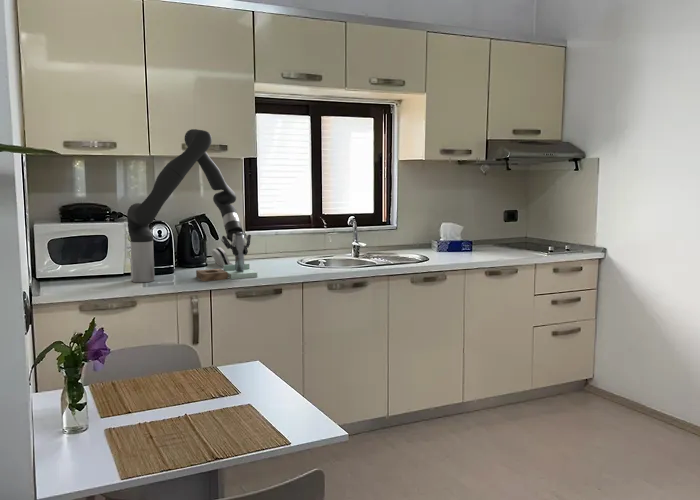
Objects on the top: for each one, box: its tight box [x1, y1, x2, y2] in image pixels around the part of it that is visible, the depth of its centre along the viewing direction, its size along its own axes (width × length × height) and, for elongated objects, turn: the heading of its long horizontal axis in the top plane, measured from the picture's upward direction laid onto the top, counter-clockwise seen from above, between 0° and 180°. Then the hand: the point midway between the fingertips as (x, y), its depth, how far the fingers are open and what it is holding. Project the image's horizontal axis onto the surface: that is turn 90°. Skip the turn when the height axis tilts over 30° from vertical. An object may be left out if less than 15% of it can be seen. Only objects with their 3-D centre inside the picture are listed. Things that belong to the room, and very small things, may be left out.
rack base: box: [222, 262, 258, 280], centre depth 285 cm, size 12×12×4 cm
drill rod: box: [234, 232, 245, 271], centre depth 283 cm, size 4×4×17 cm
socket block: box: [195, 268, 229, 282], centre depth 279 cm, size 11×11×3 cm
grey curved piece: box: [211, 246, 234, 268], centre depth 313 cm, size 17×5×10 cm, turn 26°
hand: (241, 254), depth 282 cm, fingers closed on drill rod, 4 cm apart
